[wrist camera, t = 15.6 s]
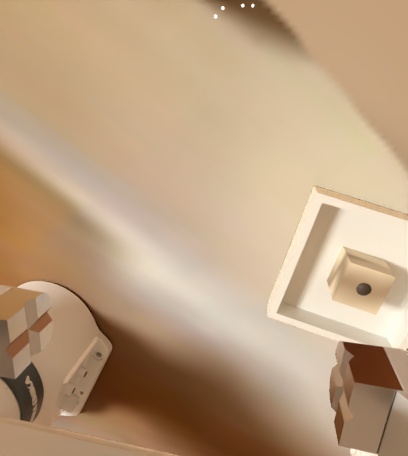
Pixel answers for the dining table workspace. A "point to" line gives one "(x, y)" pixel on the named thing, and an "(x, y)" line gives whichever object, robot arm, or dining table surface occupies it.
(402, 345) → the cream tray
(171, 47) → the dining table surface
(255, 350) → the dining table surface
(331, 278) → the maple block
